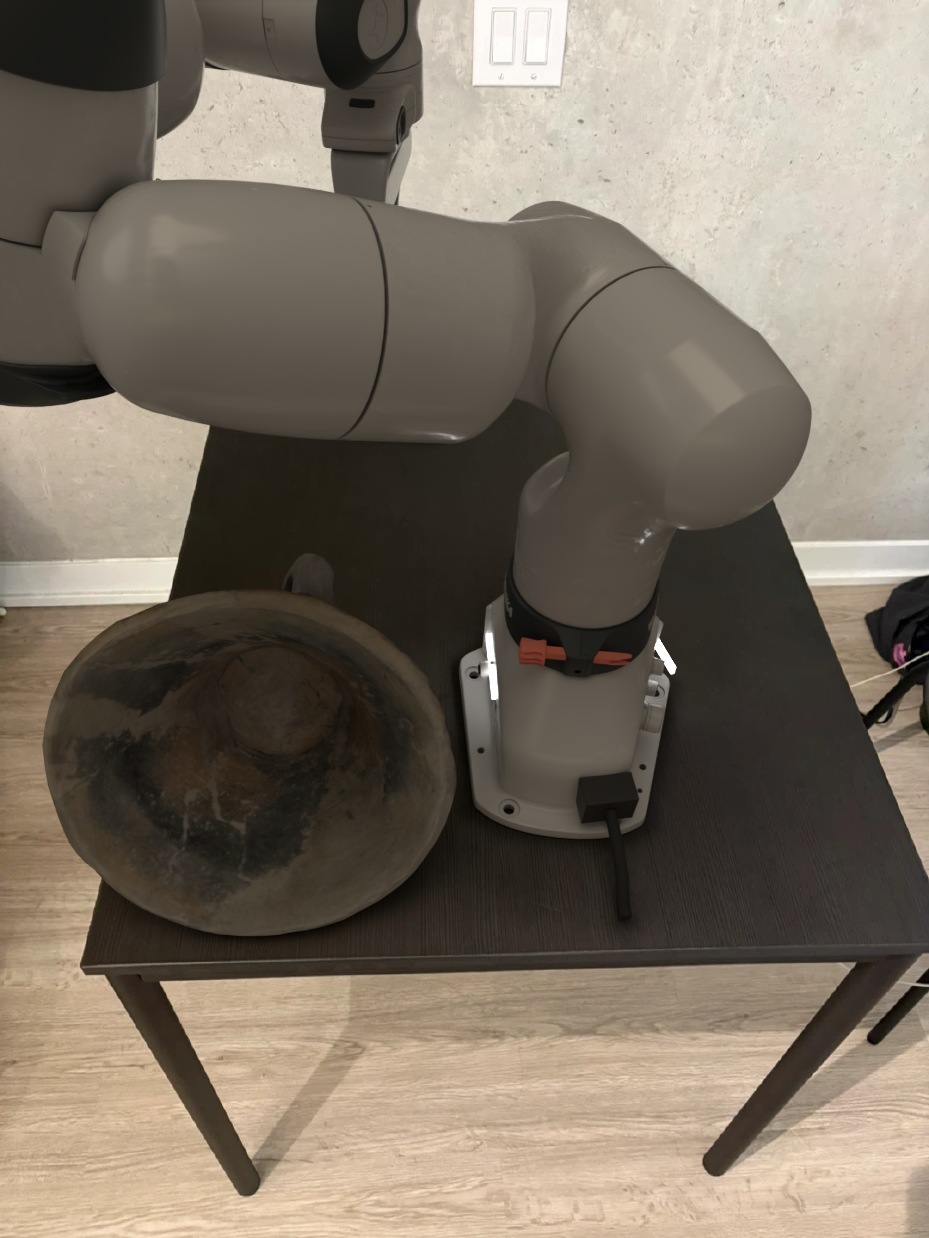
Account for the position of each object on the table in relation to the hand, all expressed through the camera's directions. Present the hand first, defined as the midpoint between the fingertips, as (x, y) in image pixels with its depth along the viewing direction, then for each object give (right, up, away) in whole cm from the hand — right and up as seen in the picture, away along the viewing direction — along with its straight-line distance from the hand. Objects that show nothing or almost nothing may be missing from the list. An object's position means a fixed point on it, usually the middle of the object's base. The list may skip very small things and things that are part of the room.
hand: (382, 242), depth 87 cm
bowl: (-7, -44, -17) cm, 48 cm away
